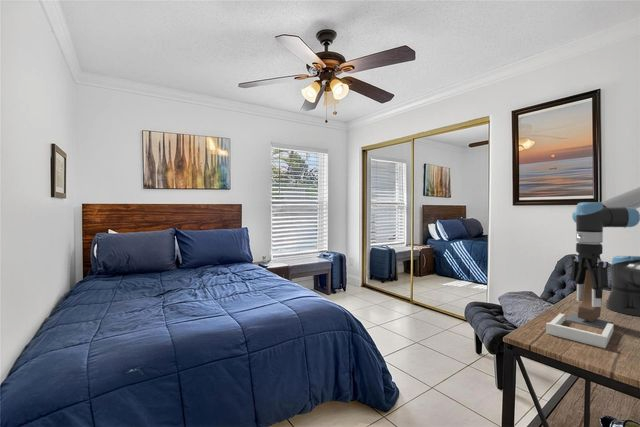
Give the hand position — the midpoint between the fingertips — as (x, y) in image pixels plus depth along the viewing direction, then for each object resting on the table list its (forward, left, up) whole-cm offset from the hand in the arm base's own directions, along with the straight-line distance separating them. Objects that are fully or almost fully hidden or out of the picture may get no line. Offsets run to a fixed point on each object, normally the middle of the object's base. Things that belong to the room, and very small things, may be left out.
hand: (588, 303), depth 116 cm
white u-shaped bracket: (+12, +11, -7) cm, 17 cm away
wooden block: (0, 0, -5) cm, 5 cm away
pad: (0, 0, -7) cm, 7 cm away
